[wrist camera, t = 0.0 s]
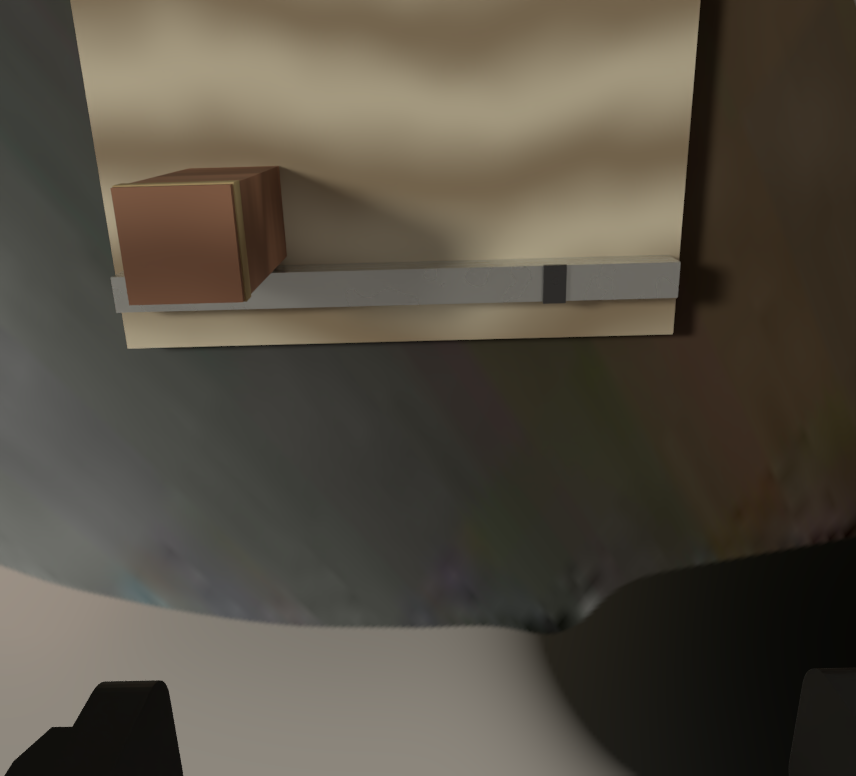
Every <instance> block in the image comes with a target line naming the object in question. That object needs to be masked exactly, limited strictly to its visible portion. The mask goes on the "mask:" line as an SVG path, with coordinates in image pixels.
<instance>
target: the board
mask: <svg viewBox="0 0 856 776" xmlns="http://www.w3.org/2000/svg"><path fill="white" fill-rule="evenodd" d="M70 1H71V7H72V13H73V19H74V26H75V32H76V38H77V44H78V50H79V56H80V62H81V68H82V74H83V80H84V86H85V92H86V98H87V104H88V111H89V117H90V123H91V129H92V135H93V141H94V147H95V153H96V159H97V165H98V171H99V177H100V183H101V189H102V195H103V202H104V208H105V214H106V220H107V226H108V232H109V238H110V244H111V250H112V256H113V262H114V268H115V274H118V273H120V272H122V271H123V264H122V257H121V251H120V245H119V239H118V233H117V226H116V220H115V214H114V208H113V201H112V195H111V189H110V188H112V186H113V185H117V184H121V183H132V182H136V181H140V180H144V179H148V178H152V177H156V176H160V175H164V174H168V173H172V172H176V171H180V170H184V169H188V168H221V167H256V166H279V172H280V183H281V194H282V206H283V217H284V228H285V240H286V251H287V257H286V258H285V259H284V260H283V261H282V262H281V263H280V264H279V265H306V264H343V263H380V262H417V261H453V260H490V259H527V258H564V257H601V256H638V255H670V256H672V257H673V258H675V259H677V260H678V261H679V255H680V243H681V231H682V219H683V207H684V195H685V183H686V171H687V159H688V146H689V134H690V122H691V110H692V98H693V86H694V74H695V62H696V50H697V37H698V25H699V13H700V1H701V0H70ZM675 304H676V298H654V299H616V300H579V301H566V303H556V304H543V303H542V301H541V302H503V303H466V304H428V305H390V306H353V307H315V308H277V309H240V310H202V311H164V312H127V313H122V317H123V323H124V329H125V335H126V341H127V347H128V349H129V348H168V347H206V346H244V345H282V344H321V343H359V342H397V341H435V340H474V339H512V338H550V337H588V336H627V335H665V334H673V328H674V316H675Z"/></svg>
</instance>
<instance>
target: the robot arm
mask: <svg viewBox="0 0 856 776" xmlns="http://www.w3.org/2000/svg"><path fill="white" fill-rule="evenodd" d="M5 776H183V771H182V765H181V759H180V753H179V747H178V741H177V736H176V730H175V724H174V719H173V712H172V707H171V701H170V696H169V691H168V688H167V686H166V684H165V683H164V682H163V681H114V682H102V683H100V684H98V686H97V687H96V688H95V689H94V691H93V692H92V694H91V695H90V697H89V699H88V701H87V703H86V704H85V706H84V708H83V709H82V711H81V713H80V715H79V716H78V718H77V720H76V722H75V723H74V725H73V727H52V728H51V729H49V730H48V731H47V732H46V733H45V734H44V735H43V736H42V737H40V738H39V739H38V740H37V741H36V742H35V743H34V744H33V745H31V746H30V747H29V748H28V749H27V750H26V751H25V752H24V753H22V754H21V755H20V756H19V757H18V758H17V759H16V760H15V761H14V762H13V763H12V765H11V766H10V768H9V769H8V771H7V773H6V774H5ZM789 776H856V668H827V669H826V668H825V669H824V668H823V669H811V670H809V671H808V672H807V674H806V675H805V677H804V681H803V684H802V691H801V696H800V702H799V708H798V714H797V720H796V726H795V732H794V738H793V744H792V749H791V755H790V762H789Z"/></svg>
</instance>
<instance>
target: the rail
mask: <svg viewBox="0 0 856 776" xmlns="http://www.w3.org/2000/svg"><path fill="white" fill-rule="evenodd" d="M680 264H681V262H680V261H678V260H677V259H675V258H673V257H672V256H670V255H638V256H601V257H564V258H527V259H490V260H453V261H417V262H380V263H343V264H306V265H278V266H277V267H276V268H275V269H274V270H273V272H272V273H271V274H270V275H269V276H268V277H267V278H266V279H265V280H264V281H263V282H262V283H261V284H260V285H259V286H258V287H257V288H256V289H255V290H254V291H253V293H252V294H251V298H250V299H249V300H248V301H247V302H237V303H200V304H162V305H129V301H128V295H127V288H126V282H125V276H124V270H123V271H122V272H120V273H118V274H116V275H114V276H112V277H111V283H112V289H113V295H114V301H115V307H116V313H127V312H164V311H202V310H240V309H277V308H315V307H353V306H390V305H428V304H466V303H503V302H541V301H542V303H543V304H556V303H566V301H579V300H616V299H654V298H678V288H679V276H680Z"/></svg>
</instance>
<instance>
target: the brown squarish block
mask: <svg viewBox="0 0 856 776" xmlns="http://www.w3.org/2000/svg"><path fill="white" fill-rule="evenodd" d="M110 189H111V195H112V201H113V208H114V214H115V220H116V226H117V233H118V239H119V245H120V251H121V257H122V264H123V270H124V276H125V282H126V288H127V295H128V301H129V305H162V304H200V303H237V302H247V301H248V300H249V299H250V298H251V294H252V293H253V291H254V290H255V289H256V288H257V287H258V286H259V285H260V284H261V283H262V282H263V281H264V280H265V279H266V278H267V277H268V276H269V275H270V274H271V273H272V272H273V270H274V269H275V268H276V267H277V266H278V265H279V264H280V263H281V262H282V261H283V260H284V259H285V258H286V257H287V251H286V240H285V228H284V217H283V206H282V194H281V183H280V172H279V166H256V167H221V168H188V169H184V170H180V171H176V172H172V173H168V174H164V175H160V176H156V177H152V178H148V179H144V180H140V181H136V182H132V183H121V184H117V185H113V186H112V188H110Z"/></svg>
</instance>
